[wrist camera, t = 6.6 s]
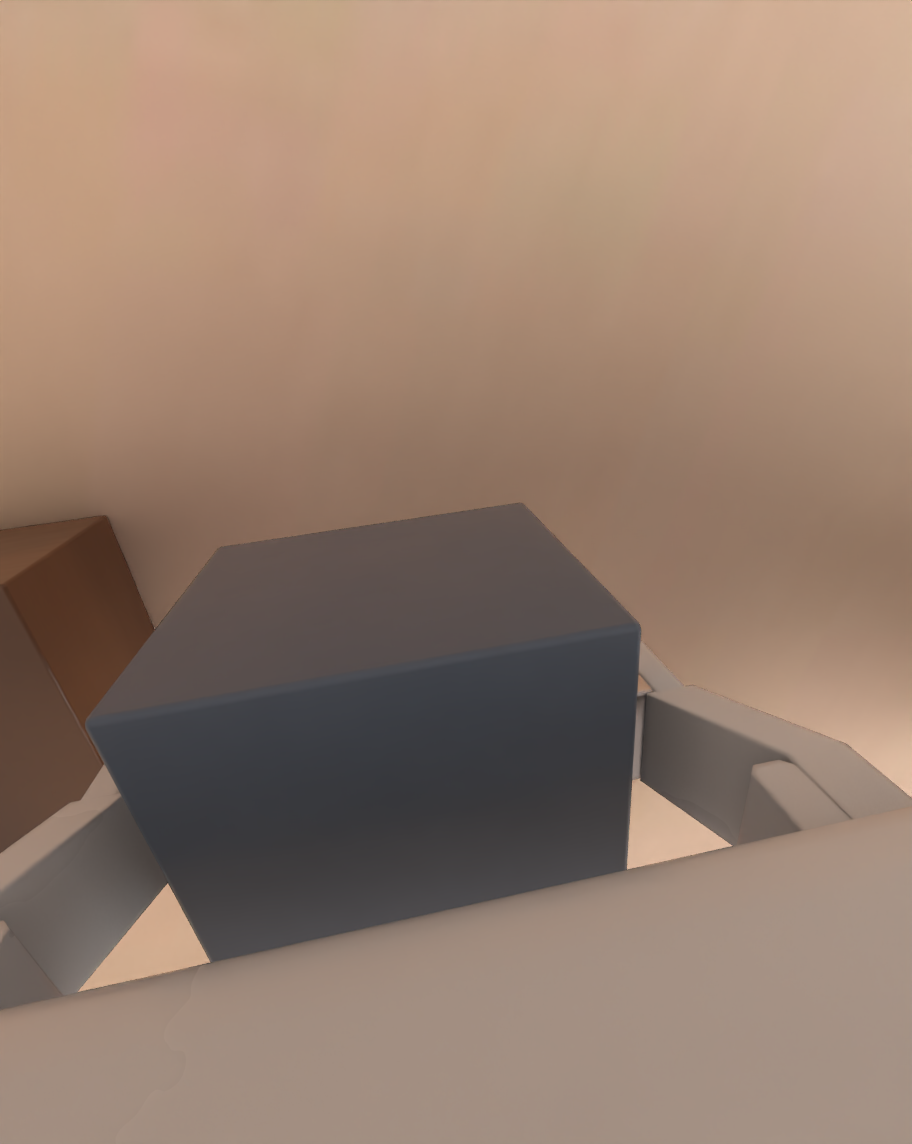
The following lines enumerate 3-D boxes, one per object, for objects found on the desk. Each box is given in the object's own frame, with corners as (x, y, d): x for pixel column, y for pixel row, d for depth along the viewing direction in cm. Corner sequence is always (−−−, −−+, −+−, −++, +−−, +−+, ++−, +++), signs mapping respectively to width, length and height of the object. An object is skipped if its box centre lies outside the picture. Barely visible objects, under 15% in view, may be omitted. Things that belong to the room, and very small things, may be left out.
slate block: (523, 500, 10) (644, 624, 6) (534, 730, 13) (624, 942, 8) (216, 545, 10) (77, 722, 5) (292, 776, 12) (244, 1033, 8)
